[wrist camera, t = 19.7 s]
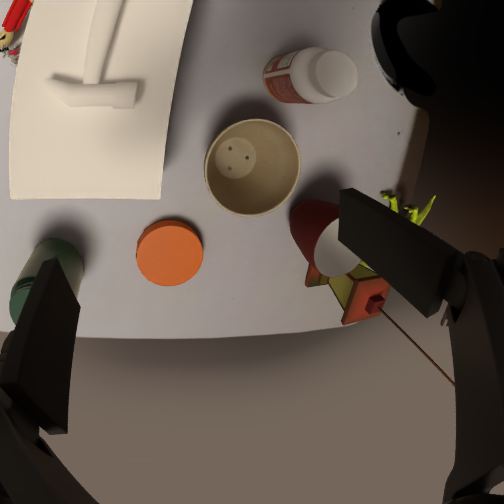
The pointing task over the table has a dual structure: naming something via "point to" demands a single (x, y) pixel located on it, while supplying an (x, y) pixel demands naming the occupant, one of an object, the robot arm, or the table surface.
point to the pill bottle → (310, 76)
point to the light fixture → (359, 296)
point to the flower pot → (252, 167)
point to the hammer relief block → (94, 98)
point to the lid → (169, 253)
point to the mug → (321, 238)
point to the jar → (42, 252)
